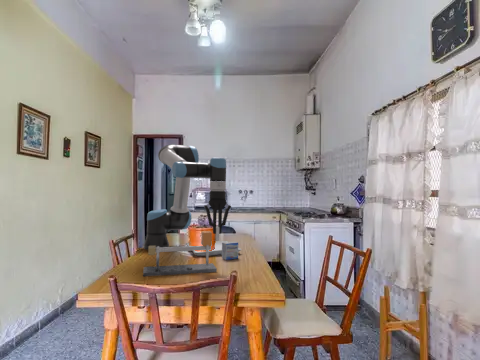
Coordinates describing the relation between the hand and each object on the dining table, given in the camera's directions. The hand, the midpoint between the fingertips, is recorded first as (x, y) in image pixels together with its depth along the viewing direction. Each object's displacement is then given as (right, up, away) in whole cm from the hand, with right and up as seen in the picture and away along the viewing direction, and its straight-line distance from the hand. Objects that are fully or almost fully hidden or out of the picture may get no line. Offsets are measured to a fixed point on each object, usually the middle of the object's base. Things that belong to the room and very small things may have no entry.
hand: (217, 240), depth 149 cm
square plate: (-6, -14, +39) cm, 42 cm away
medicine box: (+5, -14, +21) cm, 26 cm away
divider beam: (-16, -11, -5) cm, 20 cm away
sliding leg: (-5, -11, -2) cm, 12 cm away
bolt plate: (-17, -13, -5) cm, 22 cm away
